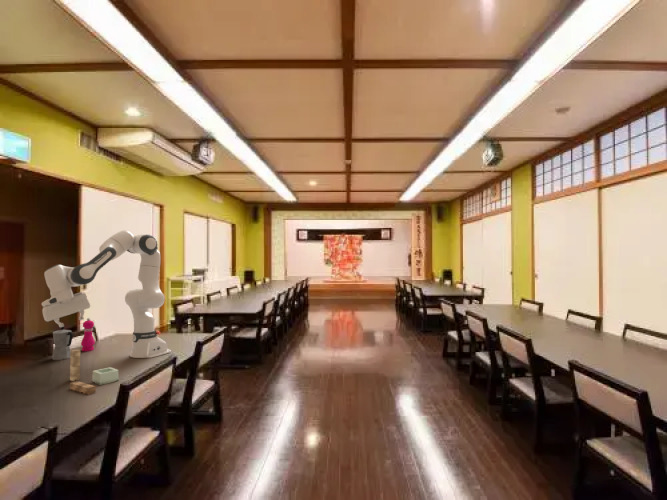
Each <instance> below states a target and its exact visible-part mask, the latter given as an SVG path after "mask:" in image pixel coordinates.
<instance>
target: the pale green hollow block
mask: <svg viewBox="0 0 667 500" xmlns="http://www.w3.org/2000/svg"><path fill="white" fill-rule="evenodd" d="M91 379H92V380H91V381H92V383H94V382H95V384H97V385H99V386H101V385H106V384H110V383H114V382H115V383H116V382H119V369H117V368H114V367H111V366H109V367H105V368H100V369H96V370H92V378H91Z"/></svg>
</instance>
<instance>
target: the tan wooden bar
mask: <svg viewBox="0 0 667 500" xmlns="http://www.w3.org/2000/svg"><path fill="white" fill-rule="evenodd" d="M96 387H97V386H96V385H93V384H89V383H86V382H82V381H79V380H76V381H71V382H70V383H69V390H71V389H73V390H72V391H75V390H76V391H75V392H78V391H79V392H78V393H81V392H83V393H82V394H85V393H86V394H85V395H88V394H89V395H92V394H91V393H93V394H95V392H96V391H97V390H96V389H97V388H96Z"/></svg>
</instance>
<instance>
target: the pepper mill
mask: <svg viewBox="0 0 667 500" xmlns="http://www.w3.org/2000/svg"><path fill="white" fill-rule="evenodd" d="M94 326H95V322H94V321H93V320H91V318H90V317H88V318H86V320H85V321H83V323H82V328H83V332H84V334H83V337H82V339H81V342H80V345H81V346H82V347H81V351H82V352H92V351H94V350H95V349H94V348H95V347H94V345H95V343H96V341H95V339H94V335H93V331H94Z"/></svg>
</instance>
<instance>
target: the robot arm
mask: <svg viewBox="0 0 667 500" xmlns="http://www.w3.org/2000/svg"><path fill="white" fill-rule="evenodd" d="M158 249H159V248H158V241H157V238H156V237H155V236H153V235H150V234H137V235H134V234H132V233H131V232H130V231H129V230H121V231H118V232H117V233H115V234H113V235H112V236H110V237H109V238H107V239H106V240H105V241H104V242H103V243H102V244H101V245H100V246H99V250H98V251H99V253H98V254H97V255H95V256H94V257H92V258H91V259H90V260H89V261H88V262H85V263H81V264H79V265H76V266H75V267H74V266H73V267H71V266H65V265H62V264H55V265H53V266H50V267H48V268H47V269H45V271H44V274H43V275H44V279H45V283H46V286H47V287H48V289H49V291H50V293H49V294H50V298H49V297H48V298H47V299H46V300H44V301H42V302H41V306H42V316H43V319H44V321H45V322H50V321H54V322H55V324H57V325H58V327H59V328H61V327H65V324H64V322H61V321H60V318H63V317H66V316H69V315H72V314H76V313H79V314H80V316H79V317H78V319H79V321H83V320H84V319H85V317H84V315H85V310H87V309H90V308H91V303H90V302H89V299H88V298H87V297H88V296H87V294H86V293H85V292H83V291H82V292H81V291H80V292H77V293H74V292H73V290H72V287H80V286H82V285H88V284H90V283H92V282H93V281H94V280H95V278H96V276H97V273H98V272H99V271H100V270H101V269H102V268H104V267H105V266H106V265H107V264H108V263H110V262H111V261H113V260H115V259H118V258H119V257H120V256H122V255H123V254H124V253H125V252H128V253H130V254H139V255H140V258H141V260H140V263H139V270H138V275H137V279H138V280H139V282H140V283H141V285H142V286H141V287H142V289H141V288H139V289H138V288H137V289H132V290H128V291H127V292H126V294H125V297H124V300H125V301H124V302H125V304H126V305H127V306H128V307H129V309H130V311H131V313H132V317H133V318H132V319H133V332H132V347H131V350H130V351H131V352H130V355H129V357H130V358H136V359H137V358H138V359H140V358H141V359H143V358H144V359H145V358H146V359H147V358H148V359H150V358H155V357H158V356H162V355H167V354H170V353H171V352H172V350H171V349H170V348H168V345H167V342H166V341H165V340H164V339H162V338H160V337H158V335H161V331H159V330H155V316H154V315H153V314H152V313H151V311H150V309H151V310H153V309H157V308H161V307H163V305H164V303H165V300H166V297H165V293H163V292H162V290H161V288H160V285H159V283H160V282H159V276H160V268H161V252H160V251H159V250H158Z"/></svg>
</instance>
